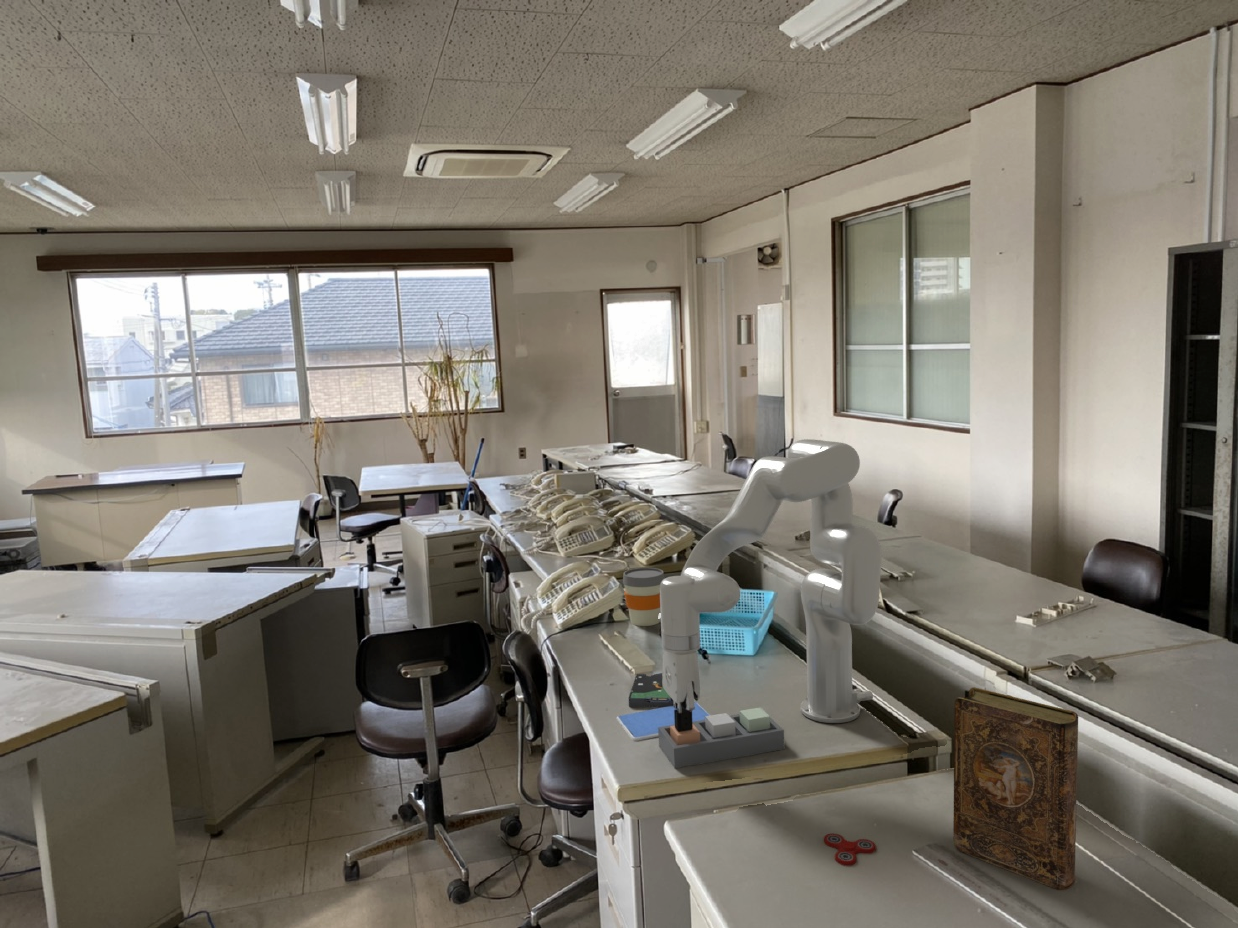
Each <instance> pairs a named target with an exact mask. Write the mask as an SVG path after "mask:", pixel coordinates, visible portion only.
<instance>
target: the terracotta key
mask: <svg viewBox="0 0 1238 928" xmlns="http://www.w3.org/2000/svg"><path fill="white" fill-rule="evenodd" d="M670 736H671V738H672V739H673V741H674V742H675V743H676V745H677V746H678V745H684V744H690V743H695V742H700V732H699V730H698V729H697V728H696V727H695V726H694V725H693V729H692V730H687V731H681V732H678V731H677V730H676V729H675V725H673V726H670Z"/></svg>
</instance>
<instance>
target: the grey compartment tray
mask: <svg viewBox="0 0 1238 928" xmlns="http://www.w3.org/2000/svg"><path fill="white" fill-rule="evenodd" d="M729 716H730V717H731V718H732V719H733V720H734V721H735V734H732V735H727V736H721V737H715V738H714V737H713V736H712V735H711V734H710V733H709V732H708V730H707V729H706V727H705V720H700V721H694V722H693V725H694V726H695V727H696V728H697V729H698V730H699V732H700V742H695V743H690V744H684V745H678V746H677V745H676V743H675V742H674V741H673V739H672V738H671V736H670V726H673V725H669V726H663V727H658V735H659V737H658V747H659V748H660V750H661V751H662V753H663V754H664V756H665V757H666V758H667V759H668V761H669V762H670V765H672V767H673V768H674V769H680V768H685V767H691V766H697V765H702V764H708V763H712V762H719V761H724V760H731V759H736V758H741V757H748V756H753V755H758V754H764V753H771V752H775V751H780V750H785V730H784V728H782V727H781V725H779V724H778V723H777V722H776V721H775V720H774V719H772V717H770V728H768V729H762V730H756V731H750V732H749V731H748V730H747V729H746V728H745V727H744V726H743V725H742V724H741V723H740V713H738V714H737V713H736V714H732V715H729Z"/></svg>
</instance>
